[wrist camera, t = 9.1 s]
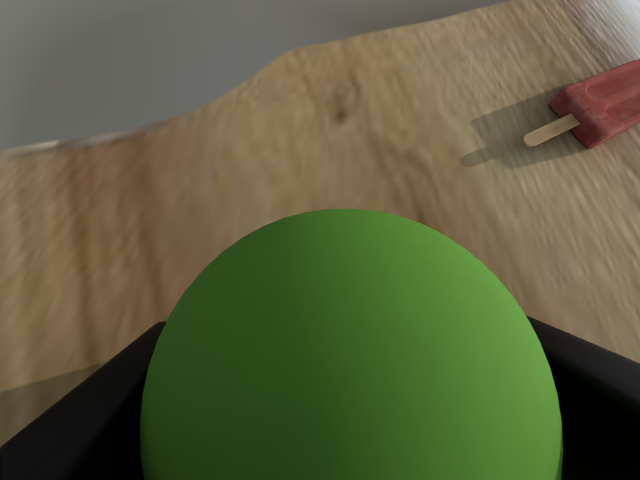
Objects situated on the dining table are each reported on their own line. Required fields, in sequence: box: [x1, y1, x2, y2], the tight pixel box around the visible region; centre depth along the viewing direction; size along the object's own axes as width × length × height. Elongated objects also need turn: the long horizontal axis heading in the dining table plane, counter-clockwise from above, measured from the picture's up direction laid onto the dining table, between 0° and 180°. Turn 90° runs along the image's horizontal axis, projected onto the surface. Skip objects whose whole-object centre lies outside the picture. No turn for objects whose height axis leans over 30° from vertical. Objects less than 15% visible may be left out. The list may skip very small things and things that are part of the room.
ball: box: [140, 209, 563, 480], centre depth 7 cm, size 6×6×6 cm
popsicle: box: [522, 59, 640, 149], centre depth 28 cm, size 4×2×15 cm
